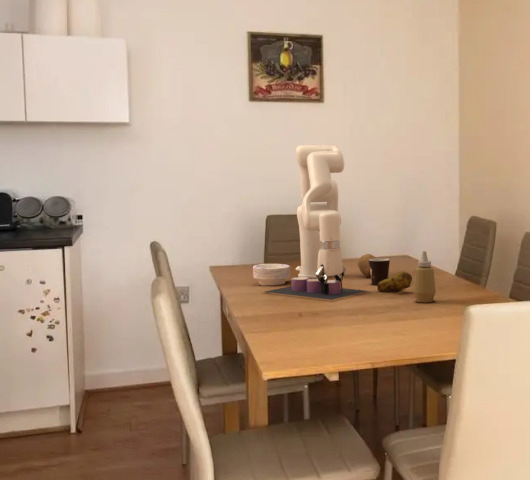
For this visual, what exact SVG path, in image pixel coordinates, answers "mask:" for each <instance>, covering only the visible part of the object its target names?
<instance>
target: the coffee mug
mask: <svg viewBox="0 0 530 480" xmlns="http://www.w3.org/2000/svg"><path fill="white" fill-rule="evenodd" d="M390 262H391V259H390V258H386V257H385V258H381V257H380V258H377V257H376V259H369V266H370V274H371V276H370V280H371V285H373V286H378V283H379V282H381V281H383V280H385V279H388V278H389V273H390V264H391V263H390Z"/></svg>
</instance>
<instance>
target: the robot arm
mask: <svg viewBox="0 0 530 480" xmlns="http://www.w3.org/2000/svg"><path fill="white" fill-rule="evenodd" d="M295 159H296V163H297V164H298V167H299V170H300V197H301V200H302V202H301V204H300V205H299V206H298V207H297V209H296V218H297V222H298V230H299V246H300V249H299V250H300V265H297V267H296V268H295V271H296V272H299V273H298V274H297V277H308V278H310V279H318V280H319V281H320V283H321V293H322V294H328V293H329V289H328V283H327V281H328V280H329V278H330V277H334V280H338V281H341V291H342V288H343V280H344V278H343V277H344V276H345V273H346V270H347V269H346V267H345V266H344V262H343V254H342V248H341V228H340V227H341V223H342V219H341V214H340V213H339V187H338V183H337V182H336V181H335V180H334V179H332V174H340V173H342V172H343V171H344V169H345V159H344V154H343V153H342V151H341V149H340V147H338V145H335V144H302V145H301V144H300V145H298V146H296V149H295Z"/></svg>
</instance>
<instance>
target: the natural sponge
mask: <svg viewBox="0 0 530 480" xmlns="http://www.w3.org/2000/svg"><path fill="white" fill-rule="evenodd" d="M376 258H377V257H376V256H375V255H373V254H371V253H365V254H364V255H362V256H360V258H359V259H358V260H357V261H358V262H357V266H358V269H359V271H360V273H361V274H362V275H363V276H364V277H366V278H371V274H370V266H369V259H376Z"/></svg>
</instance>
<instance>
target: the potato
mask: <svg viewBox="0 0 530 480" xmlns="http://www.w3.org/2000/svg"><path fill="white" fill-rule="evenodd" d="M412 282H413V276H412V275H411V273H410V272H407V271H400V272H396V273H394V274H393V275H391V276H390V277H388V279H385V280H383V281H381V282H379V283H378V285H377V290H378V291H379V292H381V293H392V292H393V293H394V292H400V291H402V290H405V289H407V288H410V287H411V284H412Z"/></svg>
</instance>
